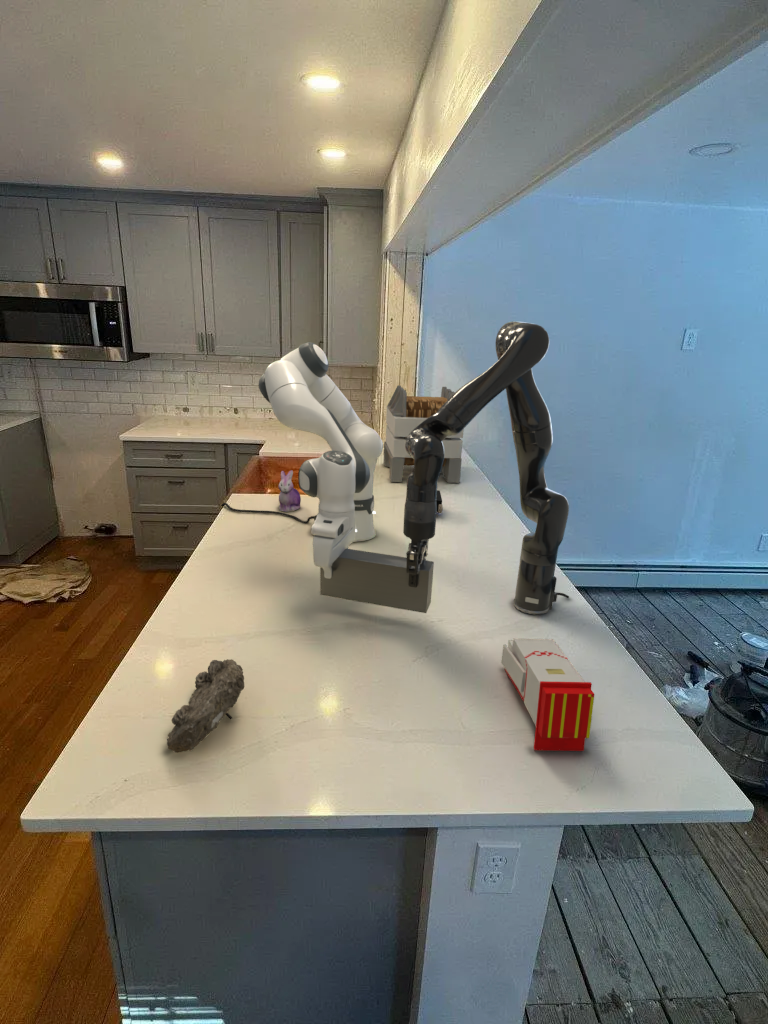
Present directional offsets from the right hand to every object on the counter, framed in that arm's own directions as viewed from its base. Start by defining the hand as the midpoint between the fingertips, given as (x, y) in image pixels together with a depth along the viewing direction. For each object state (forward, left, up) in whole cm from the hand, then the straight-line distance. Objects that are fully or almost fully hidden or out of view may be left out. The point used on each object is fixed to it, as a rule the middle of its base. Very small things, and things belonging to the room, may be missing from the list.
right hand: (416, 580), depth 138 cm
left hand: (+17, -12, -1) cm, 21 cm away
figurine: (+13, -93, -13) cm, 94 cm away
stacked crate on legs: (-57, -129, -13) cm, 142 cm away
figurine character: (-40, -75, -13) cm, 86 cm away
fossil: (+50, +20, -13) cm, 55 cm away
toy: (-13, +35, -13) cm, 39 cm away
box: (+8, -6, -7) cm, 12 cm away
